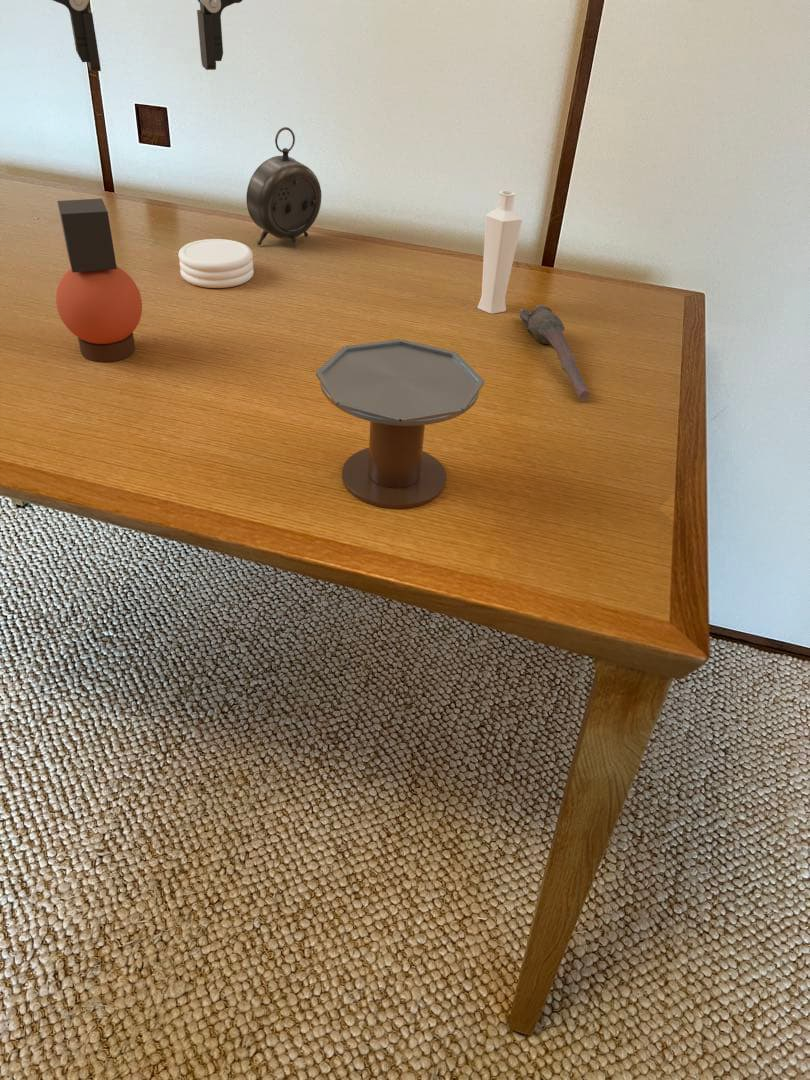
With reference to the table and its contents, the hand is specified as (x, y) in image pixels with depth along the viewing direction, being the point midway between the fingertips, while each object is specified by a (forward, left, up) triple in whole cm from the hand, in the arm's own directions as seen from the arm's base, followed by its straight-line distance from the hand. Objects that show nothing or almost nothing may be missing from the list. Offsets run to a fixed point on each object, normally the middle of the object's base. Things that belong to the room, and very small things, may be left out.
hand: (152, 68), depth 62 cm
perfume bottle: (+44, +19, -32) cm, 58 cm away
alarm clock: (+24, +49, -32) cm, 63 cm away
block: (-6, +20, -22) cm, 30 cm away
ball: (-6, +20, -32) cm, 38 cm away
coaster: (+11, +39, -32) cm, 52 cm away
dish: (+16, -14, -32) cm, 39 cm away
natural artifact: (+44, +4, -32) cm, 55 cm away
